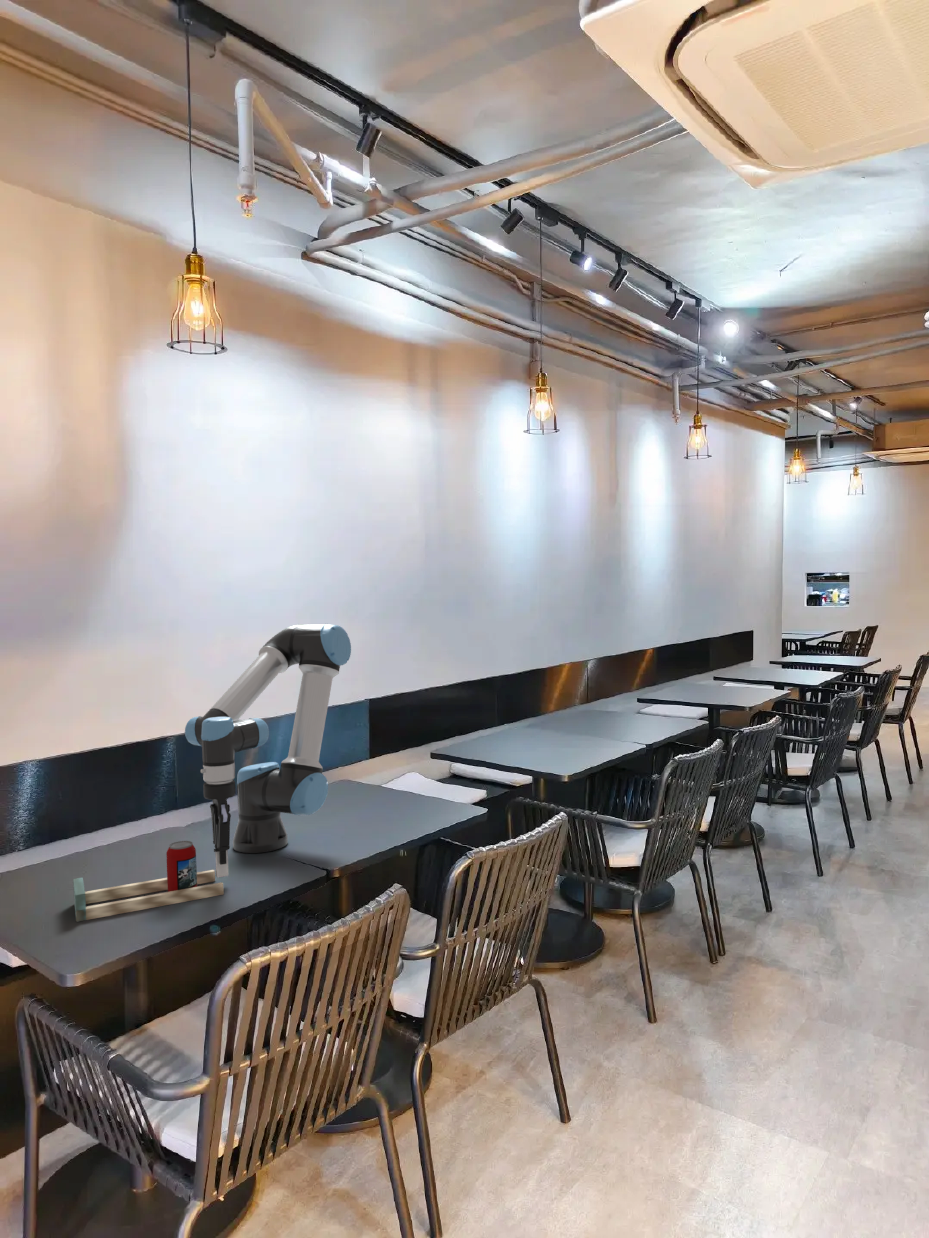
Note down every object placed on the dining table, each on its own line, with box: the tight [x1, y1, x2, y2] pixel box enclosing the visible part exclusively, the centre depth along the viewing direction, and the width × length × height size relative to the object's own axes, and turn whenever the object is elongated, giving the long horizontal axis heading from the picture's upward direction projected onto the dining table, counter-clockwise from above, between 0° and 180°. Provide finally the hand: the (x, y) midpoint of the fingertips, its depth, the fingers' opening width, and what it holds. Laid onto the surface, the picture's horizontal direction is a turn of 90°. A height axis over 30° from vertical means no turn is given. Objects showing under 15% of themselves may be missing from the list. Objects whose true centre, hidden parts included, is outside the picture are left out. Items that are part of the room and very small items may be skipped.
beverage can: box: [165, 840, 198, 892], centre depth 200 cm, size 7×7×12 cm
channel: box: [72, 869, 225, 923], centre depth 197 cm, size 32×12×6 cm, turn 117°
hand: (222, 875), depth 204 cm, fingers closed
